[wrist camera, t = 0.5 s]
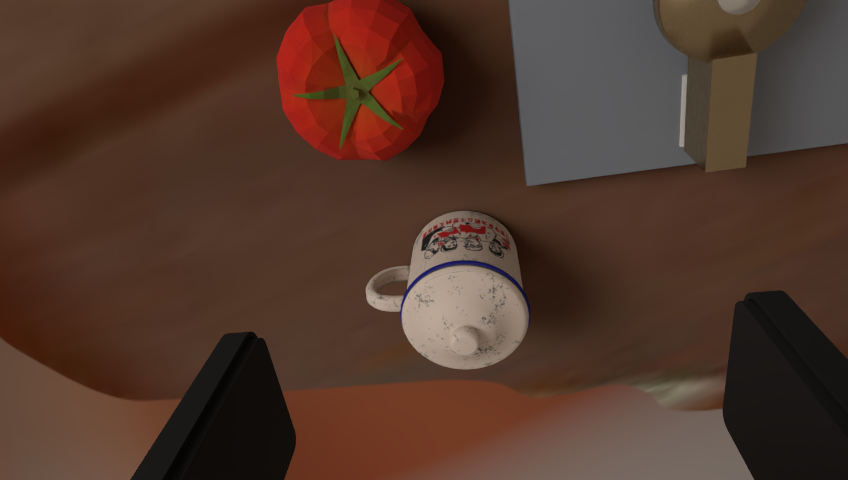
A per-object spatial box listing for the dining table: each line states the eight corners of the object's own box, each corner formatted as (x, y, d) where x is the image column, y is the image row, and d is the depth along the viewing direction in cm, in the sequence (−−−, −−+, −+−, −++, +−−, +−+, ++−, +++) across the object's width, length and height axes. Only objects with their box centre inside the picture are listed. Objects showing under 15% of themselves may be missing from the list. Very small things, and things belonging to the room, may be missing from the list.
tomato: (304, 140, 43) (276, 178, 37) (287, -17, 38) (250, -5, 31) (444, 143, 43) (441, 182, 36) (447, -17, 37) (443, -4, 31)
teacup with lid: (521, 205, 45) (539, 287, 34) (517, 300, 49) (531, 398, 39) (371, 207, 45) (344, 288, 35) (380, 300, 50) (359, 396, 40)
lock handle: (643, -79, 33) (666, -79, 29) (792, -107, 32) (835, -111, 28) (641, 156, 40) (660, 179, 36) (763, 139, 38) (795, 162, 35)
